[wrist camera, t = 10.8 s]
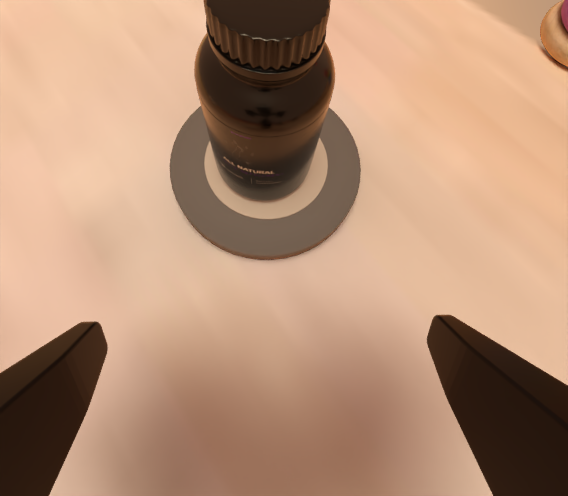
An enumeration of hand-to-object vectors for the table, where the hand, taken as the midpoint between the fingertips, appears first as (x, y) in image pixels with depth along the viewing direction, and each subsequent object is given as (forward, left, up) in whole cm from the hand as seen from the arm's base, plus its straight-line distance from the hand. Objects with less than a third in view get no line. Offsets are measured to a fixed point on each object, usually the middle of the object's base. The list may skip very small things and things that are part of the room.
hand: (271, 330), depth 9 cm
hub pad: (+11, +6, -13) cm, 18 cm away
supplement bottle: (+11, +6, -12) cm, 17 cm away
